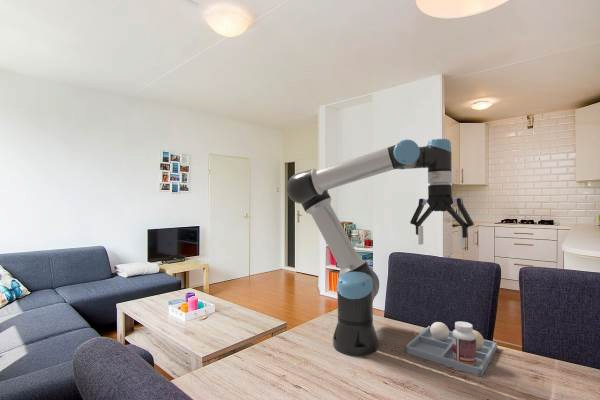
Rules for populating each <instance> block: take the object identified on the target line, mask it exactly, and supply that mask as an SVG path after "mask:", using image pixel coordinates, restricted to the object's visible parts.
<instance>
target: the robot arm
mask: <svg viewBox="0 0 600 400" xmlns="http://www.w3.org/2000/svg"><path fill="white" fill-rule="evenodd" d="M426 168H427V183H428V184H429V185H428V186H427V195H428V197H427V198H426V199H425V198H419V199H418V205H417V207H416V208H415V211H414V213H413V216H412V217H411V219H410V222H409V223H410V224H411V225H413V226H415V234H416V236H418V241H417V242H418V244H417V245H418V246H419V245H421V246H423V245H424V225H422V224H423V223H424V222H425V220H426V219H427V218H428V217H429V216H430V215H431V214H432V212H448V214H450V215H451V217H452V218H453V219H454V220H455V221H456V223H458V225H459V226H460V227H459V249H464V248H465V238H468V237H469V236H468V233H469V232H468V231H469V230H468V229H469V228H470V227H473V226H474V225H475V223H474V221H473V219H472V218H471V215H470V214H469V212H468V211H467V210H468V209H466V208H465V205H464V200H463V198H461V197H457V198H453V185H452V181H453V177H452V176H453V173H452V142H451V140H450V139H447V138H435V139H433V138H432V139H431V140H430V139H429V140H428V141H427V144H426V146H419V145H418V143H416V142H415V140H411V139H403V140H400V141H399V142H397V143H396V144H393V145H390V146H388V147H385V148H382V149H379V150H376V151H373V152H370V153H367V154H364V155H360V156H357V157H354V158H352V159H349V160H346V161H342V162H339V163H336V164H333V165H330V166H326V167H324V168H321V169H316V168H312V169H308V170H305V171H302V172H298V173H295V174H293V175H292V176H291V177H289V179H288V181H287V184H286V193H287V195H288V197H289V199H290V200H291V201H293V202H295V203H296V204H301V206H302V208H303V210H304V212H305V213H306V214H309V215H311V217H312V219H313V220H314V222H315V224H316V226H317V228H318V230H319V232H320V234H321V236H322V237H323V239H324V241H325V243H326V245H327V247H328V249H329V250H330V252H331V254H332V256H333V258H334V260H335V262H336V264H337V266H338V268H339V273H338V276H339V277H338V278H337V282H336V283H337V284H336V290H337V323H336V326H335V330H334V333H333V336H332V346H333V347H334V349H335V350H336V351H338V352H339V353H342V354H345V355H347V356H348V355H349V356H357V357H360V356H361V357H362V356H369V355H372V354H375V353H376V352H377V351H378V348H379V346H380V345H379V338H378V335H377V332H376V329H375V325H374V318H373V317H374V311H373V306H374V305H373V303H374V300H375V298H376V296H377V295H378V293H379V290H380V279H379V277H378V274H377V273H376V272H375V271H374V270H373V269H371V268H370V266H369V265H368V262H367V261H366V259H362V258H360V256H359V254H358V251H357V250H356V249H355V246H354V245H353V243H352V241H351V240H350V237H349V236H348V234H347V233H346V231H345V229H344V227H343V225H342V223H341V221H340V220H339V218H338V216H337V214H336V213H335V210H334V208H333V207H332V205H331V202H332V196H331V195H330V194H329V191H328V190H331V189H334V188H337V187H341V186H344V185H347V184H350V183H355V182H357V181H359V180H364V179H368V178H371V177H373V176H378V175H380V174H383V173H387V172H390V171H393V170H406V169H407V170H409V169H411V170H412V169H426ZM426 204H428V207H427V209H425V211H424V212H423V214H422V211H423V209H424V206H425V205H426ZM453 204H455V205H456V206H457V208H458V210H459V211H460V212H461V215H462V217H463V218H462V217H461V216H460V215H459V214H458V213H457V212H456V211H455V209H454V208H453V207H452V205H453ZM421 214H422V215H421ZM420 215H421V216H420Z"/></svg>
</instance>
